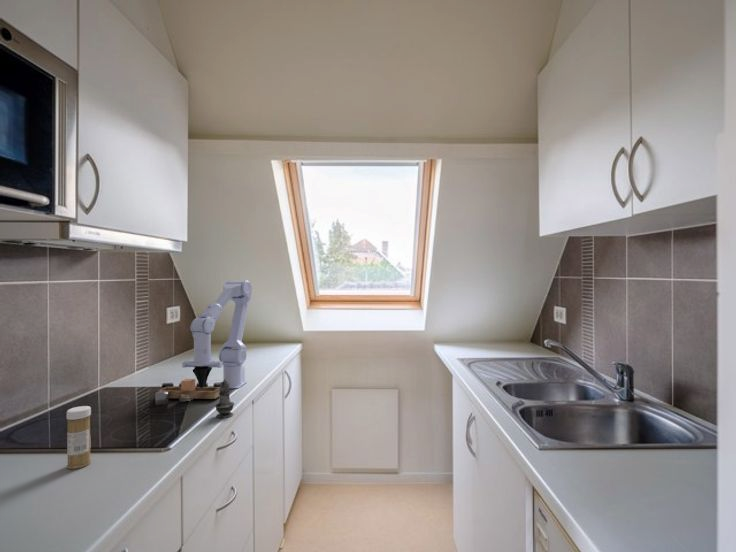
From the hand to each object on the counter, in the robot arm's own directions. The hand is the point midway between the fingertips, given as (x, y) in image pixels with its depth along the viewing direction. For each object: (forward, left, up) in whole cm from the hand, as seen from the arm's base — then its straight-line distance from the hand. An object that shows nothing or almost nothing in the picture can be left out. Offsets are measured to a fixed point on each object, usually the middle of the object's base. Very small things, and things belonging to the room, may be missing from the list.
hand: (202, 386), depth 140 cm
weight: (+6, -12, -4) cm, 14 cm away
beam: (0, -5, -4) cm, 7 cm away
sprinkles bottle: (+51, -4, -5) cm, 51 cm away
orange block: (0, -5, -2) cm, 6 cm away
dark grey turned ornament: (+17, +16, -5) cm, 24 cm away
